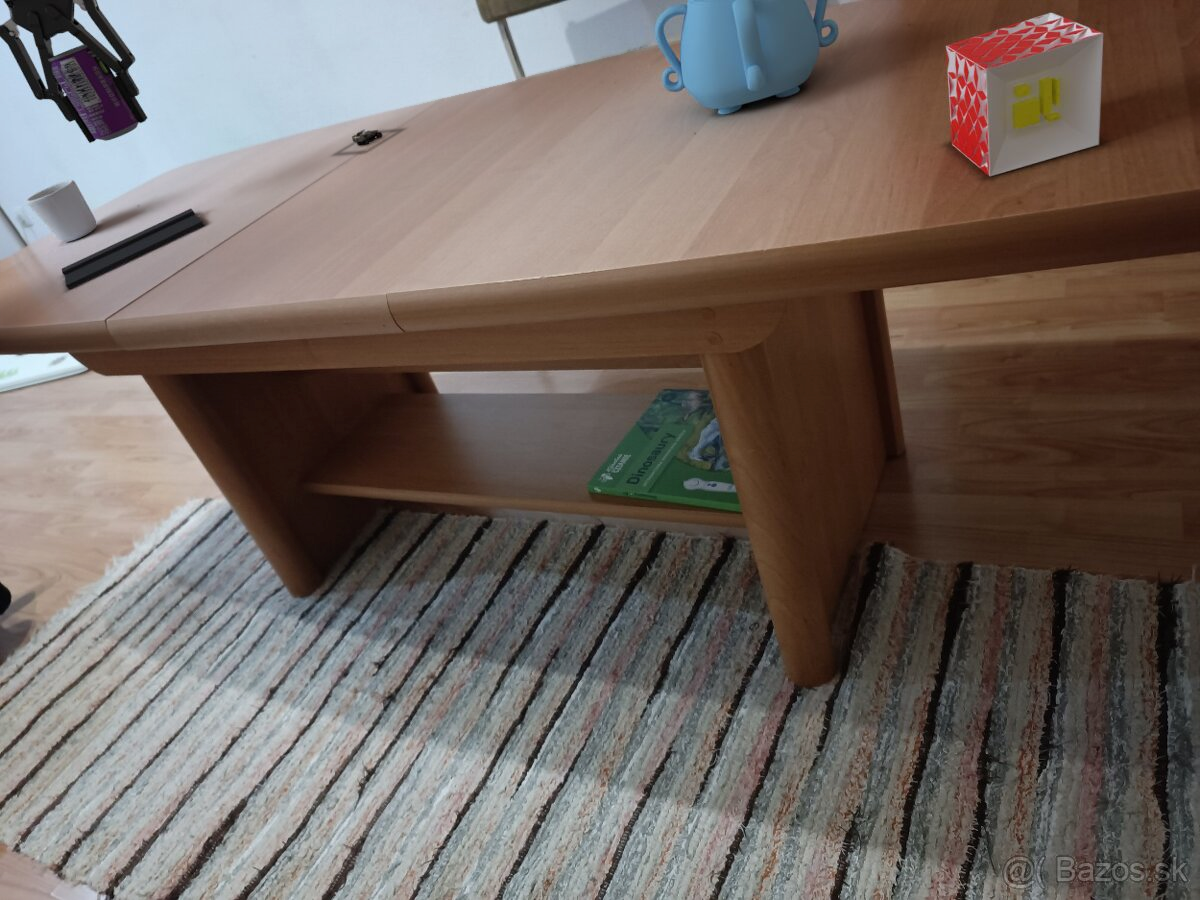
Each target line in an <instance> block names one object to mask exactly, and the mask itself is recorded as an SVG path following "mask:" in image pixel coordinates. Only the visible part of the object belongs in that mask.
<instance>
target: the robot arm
mask: <svg viewBox="0 0 1200 900" xmlns="http://www.w3.org/2000/svg"><path fill="white" fill-rule="evenodd" d="M3 2H4V3H5V5H6V6H7V8H8V11H9V17H10V18H9V19H7V20H6V21H5V22H3V23H2V24H0V38H1V39H2V40H3V41H4V42H5V44H6V45H7V47H8V48H9V50H10V52H11V54H12V56H13V58H14V59H15V61H16V63H17V66H18V67H19V69H20V71H21V73H22V75H23V77H24V79H25V80H26V82H27V84H28V86H29V89H30V90H31V93H32V94H33V95H34V97H35V99H37V100H39V101H43V100H50V101H52V102H54V104H55V105H56V106H57V108H58V110H59V111H60V112H61V114H62V115H63V117H64V118H65V120H66V121H68V123H71V122H73V121H75V123H76V125H77V126H78V128H79V129H80V131H81V132H82V134H83V135H84V137H85V138H86V140H87V141H88V143H89V144H91V143H94V142H95V141H96V140H97V139H94V137H93V135H92V134H91V132H90V131H89V129H88V128H87V126H86V125H85V123H84V122H83V120H82V118H81V117H80V115H79V114H78V112H77V111H76V109H75V108H74V106H73V104H72V103H71V101H70V100H69V98H68V97H67V95H66V94H65V92H64V90H63V89H62V87H61V86H60V84H59V83H58V81H57V80H56V78H55V76H54V75H53V72H52V65H51V62H49V60H48V59H50V58H53V57H54V56H55V55H54V51H53V46H52V45H53V43H52V38H54V37H56V36H57V35H58V34H65V33H69V34H70V35H71V36H72V37H74V38H75V39H77V41H79V42H80V43H81V44H82V45H83V44H84V45H87V46H88V47H87V48H88V49H89V50H91V51H92V52H93V53H94V54H95V55H97V56H98V58H99V59H101V60H102V61H103V62H104V63H105V64H106V65H107V66H108V67H109V68H110V69H111V71H112V72H114V73H115V74H114V76H115V77H114V78H113V80H114V82H115V83H116V85H117V86H118V88H119V90H120V91H121V93H122V95H123V96H124V98H125V100H126V101H127V103H128V105H129V106H130V108H131V110H132V111H133V113H134V114H135V116H136V118H137V119H138V121H139V123H138V124H142V123H144V122H146V121H147V119H148V116H147V114H146V113H145V110H144V109H143V107H142V106H141V104H140V102H139V100H138V99H137V98H136V97H138V96H139V95H140V89H139V88H138V86H137V84H136V83H135V80H134V79H133V78H132V76H131V74H130V72H129V70H130V67H132V65H133V64H134V63H135V62H136V57H135V55H134V54H133V53H132V51H131V49H130V48H129V47H128V45H127V44H126V43H125V42H124V40H123V39H122V37H121V36H120V35H119V33H118V32H117V31H116V30H115V28H114V26H113V25H112V24H111V22H110V20H109V19H108V18H107V17H106V16H105V14H104V13H103V11H102V10H101V9H100V6H99V3H98V0H3ZM75 5H77V6H78V7H79V8H80V9H81V10H82V11H84V12H86V13H87V14H88V16H89V18H90V19H91V21H92V22H93V23H94V24H95V26H96V27H97V29H98V30H99V31H100V32H101V35H102V36H104V38H105V39H106V41H107V42H108V44H109V45H110V46H111V48H113V50H114V52H115V53H116V54H117V55H118V57H119V58H120V59H119V58H118V57H117V56H115V55H114V54H113V53H112V52H111V51H110V50H109V49H108V48H107V47H106V46H104V45H103V44H102V42H100V41H99V40H98V39H97V38H96V37H95V36H94V35H92V34H91V32H89V31H88V30H87V29H86V28H85V26H84V25H82V23H80V22H79V21H78V20H77V19H76V18H75ZM18 26H19V27H20V28H22V29H24V30H26V31H27V32H29V33H32V37H33V40H34V41H33V42H34V44H35V47H36V49H37V51H38V57H39V60H40V63H41V68H42V72H43V75H44V79H45V83H46V85H45V83H44V81H43V79H42V77H41V75H40V73H39V71H38V70H37V67H36V65H35V64H34V61H33V60H32V57H31V56H30V53H29V51H28V50H27V48H26V46H25V44H24V43H23V41H22V39H21V38H20V35H21V33H20V31H19V28H18Z"/></svg>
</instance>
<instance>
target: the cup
mask: <svg viewBox="0 0 1200 900" xmlns="http://www.w3.org/2000/svg"><path fill="white" fill-rule="evenodd" d="M25 203H26V204H27V206H28V207H29V208H30V209H31V210H32V211H33V213H34V214H35V215H36V216H37V217H38V218H39V220H40V221H41V222H42V223H43V224H44V225H45V227H46V228H47V229H48V230H49V231H50V232H51V233H52V234H53V235H54V237H55V238H56V239H58V240H59V241H61V242H64V243H65V242H67V243H68V242H72V241H75V240H78V239H81V238H83V237H85V236H87V235H88V234H90V233H92V232H93V231H94V230H95V229H96V228H97V219H96V217H95V215H94V214H93V212H92V210H91V208H90V206H89V204H88V202H87V201H86V200H85V197H84V195H83V194H82V192H81V190H80V188H79V186H78V184H77V183H76V181H75V180H73V179H68V180H65V181H61V182H59V183H56V184H52V185H51V186H49V187H46V188H44V189H42V190H40V191H38V192H36V193H35V194H32V195H31V196H29V197H28V198H27V199H26V202H25Z"/></svg>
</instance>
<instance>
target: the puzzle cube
mask: <svg viewBox="0 0 1200 900" xmlns="http://www.w3.org/2000/svg"><path fill="white" fill-rule="evenodd" d="M945 49H946V50H945V52H946V53H945V54H946V55H945V56H946V71H947V83H948V85H947V86H948V100H949V116H950V135H951V145H952V146H953V147H955V149H957V150H958V151H959V152H960V153H961V154H962V155H964V156H965V157H966V158H967V159H969V160H970V161H971V162H972V163H973V164H974V165H976V166H977V167H978V168H979V169H980V170H981V171H982V172H984V174H986V175H987V176H988V177H993V176H997V175H1000V174H1003V173H1006V172H1010V171H1014V170H1017V169H1021V168H1024V167H1027V166H1031V165H1034V164H1037V163H1042V162H1045V161H1048V160H1051V159H1054V158H1059V157H1061V156H1065V155H1068V154H1072V153H1076V152H1078V151H1082V150H1085V149H1089V148H1093V147H1096V146H1100V135H1101V111H1102V109H1101V108H1102V87H1103V86H1102V85H1103V58H1104V57H1103V56H1104V32H1102V31H1098V30H1096V29H1093V28H1091V27H1088V26H1086V25H1083V24H1081V23H1079V22H1076V21H1074V20H1071V19H1069V18H1066V17H1064V16H1062V15H1059V14H1056V13H1054V12H1048V13H1046V14H1042V15H1039V16H1035V17H1032V18H1030V19H1026V20H1023V21H1019V22H1016V23H1014V24H1011V25H1006V26H1004V27H1001V28H998V29H995V30H992V31H988V32H985V33H982V34H979V35H975V36H973V37H969V38H965V39H963V40H960V41H957V42H954V43H950V44H948V45H945Z"/></svg>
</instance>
